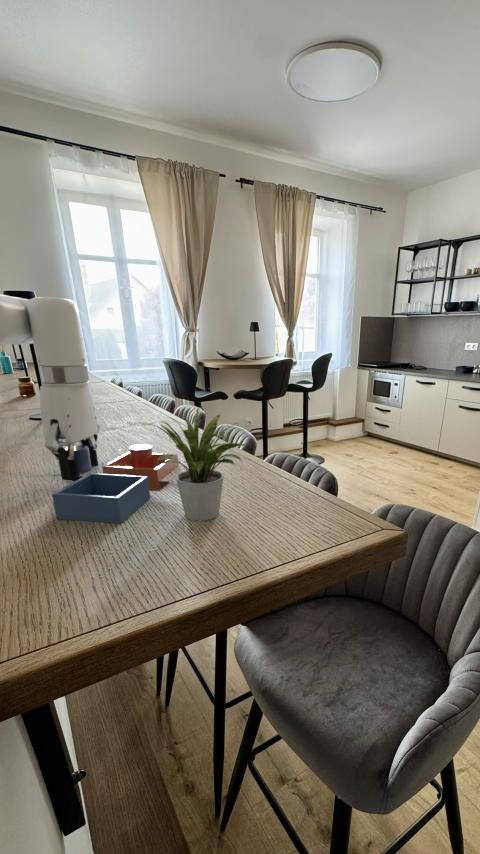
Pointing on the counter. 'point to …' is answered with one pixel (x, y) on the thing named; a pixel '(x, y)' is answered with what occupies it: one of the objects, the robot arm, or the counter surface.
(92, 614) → the counter surface
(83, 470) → the tall blue post
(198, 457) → the house plant
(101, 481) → the blue bin
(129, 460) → the terracotta bin
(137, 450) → the red cylinder
